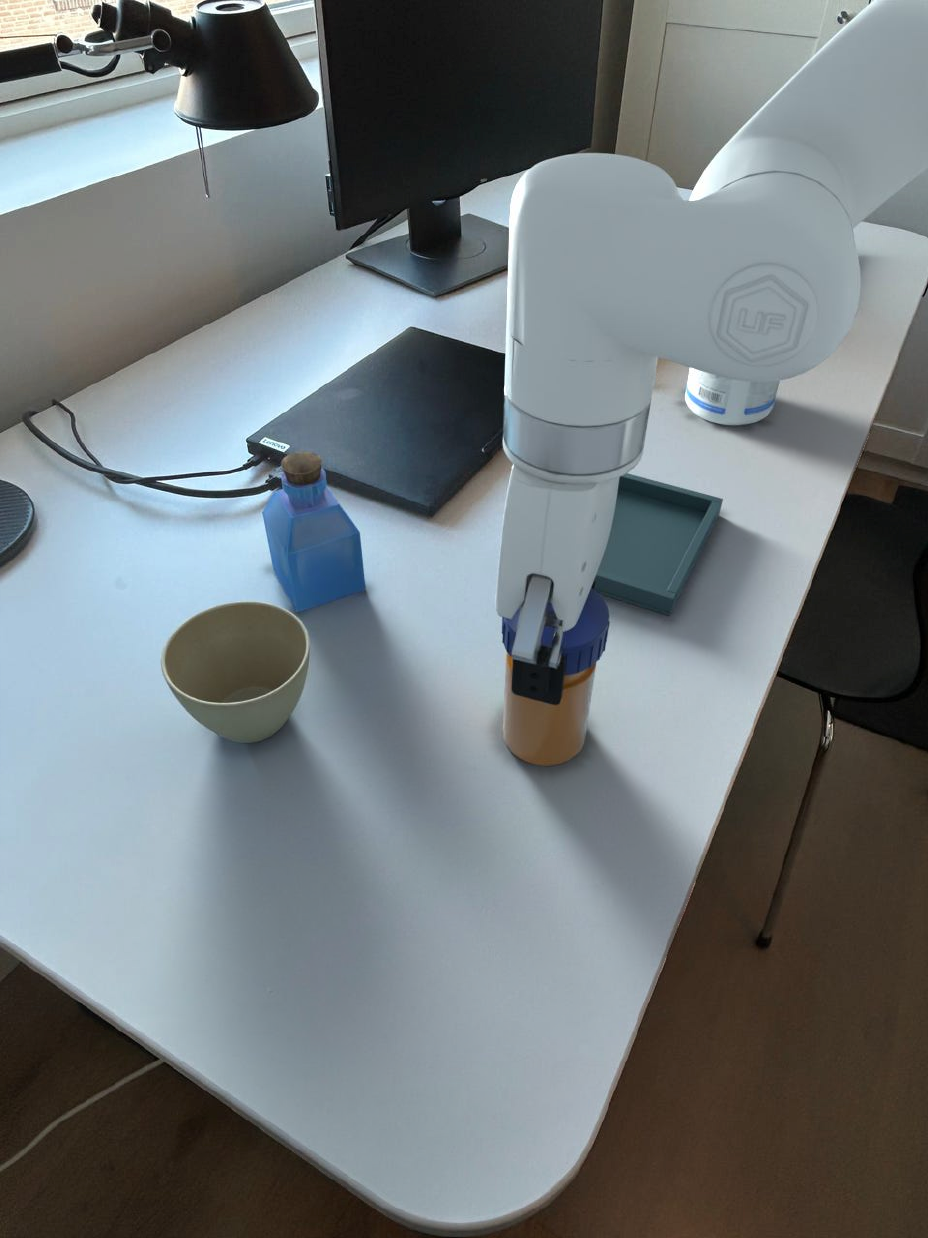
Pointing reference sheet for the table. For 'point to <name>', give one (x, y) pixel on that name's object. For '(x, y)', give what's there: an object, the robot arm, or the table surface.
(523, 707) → the jar
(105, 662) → the table surface
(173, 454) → the table surface
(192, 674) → the flower pot
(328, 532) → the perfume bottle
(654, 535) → the tray
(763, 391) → the supplement tub
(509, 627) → the lid
